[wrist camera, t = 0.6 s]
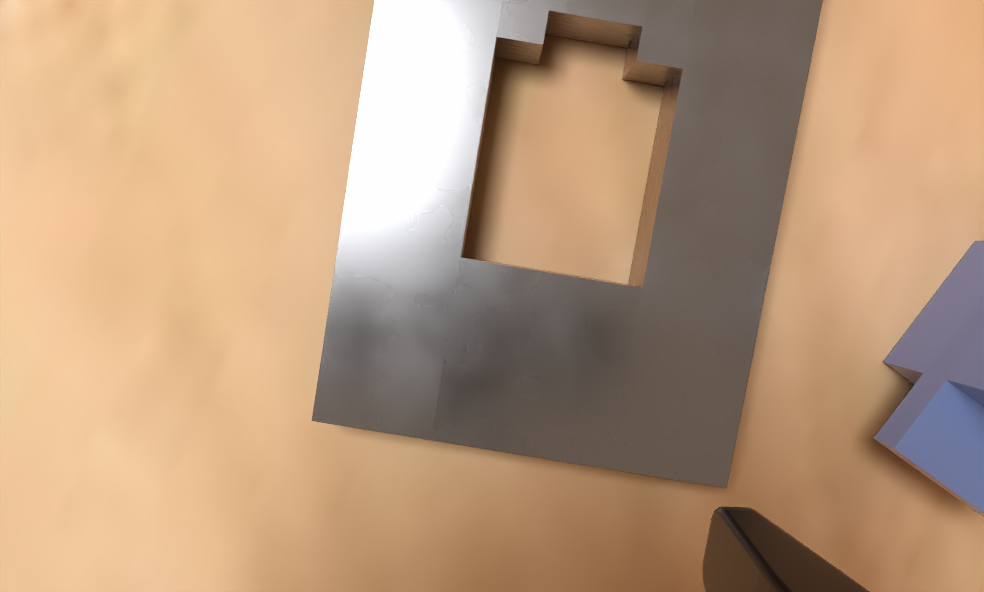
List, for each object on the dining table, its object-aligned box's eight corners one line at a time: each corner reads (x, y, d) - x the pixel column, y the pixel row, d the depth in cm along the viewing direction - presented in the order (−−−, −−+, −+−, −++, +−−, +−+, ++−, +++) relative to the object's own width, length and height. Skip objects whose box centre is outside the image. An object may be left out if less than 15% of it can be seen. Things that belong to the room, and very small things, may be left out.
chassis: (704, 466, 22) (726, 488, 20) (328, 405, 22) (311, 420, 20) (809, -72, 20) (843, -108, 18) (411, -143, 20) (402, -186, 18)
